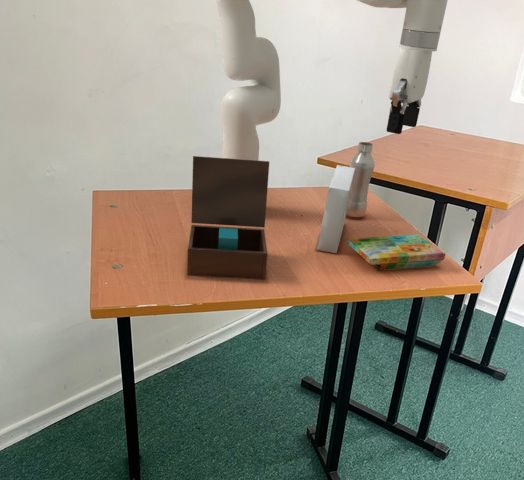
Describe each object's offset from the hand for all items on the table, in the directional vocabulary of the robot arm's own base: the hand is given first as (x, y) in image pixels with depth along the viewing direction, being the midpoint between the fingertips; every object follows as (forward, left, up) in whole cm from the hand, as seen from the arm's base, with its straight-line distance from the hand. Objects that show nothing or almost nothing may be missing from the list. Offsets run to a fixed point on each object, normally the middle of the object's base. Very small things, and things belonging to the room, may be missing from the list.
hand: (401, 129), depth 127 cm
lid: (-7, -36, -15) cm, 40 cm away
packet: (+2, -39, -29) cm, 48 cm away
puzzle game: (+3, +3, -30) cm, 30 cm away
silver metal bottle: (-27, +7, -30) cm, 41 cm away
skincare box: (-13, -6, -30) cm, 33 cm away
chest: (0, -38, -30) cm, 48 cm away
